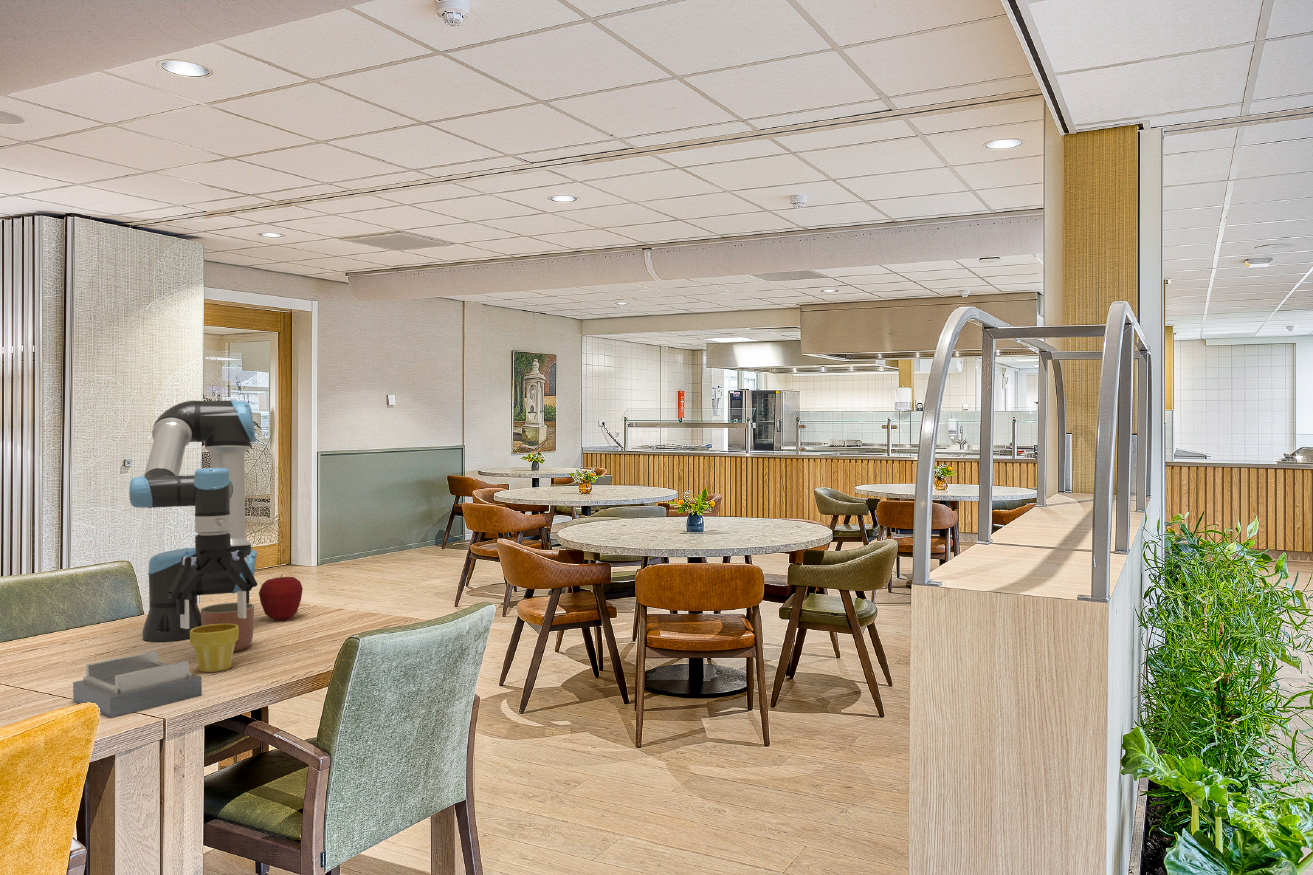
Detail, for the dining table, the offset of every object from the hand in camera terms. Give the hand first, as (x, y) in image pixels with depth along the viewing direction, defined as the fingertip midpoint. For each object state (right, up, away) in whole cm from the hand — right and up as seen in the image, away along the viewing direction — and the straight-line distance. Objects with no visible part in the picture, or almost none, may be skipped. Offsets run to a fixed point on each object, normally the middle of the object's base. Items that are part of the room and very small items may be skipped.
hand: (214, 622), depth 212 cm
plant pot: (0, -11, +1) cm, 11 cm away
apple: (-6, -10, +53) cm, 54 cm away
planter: (-6, -11, +18) cm, 22 cm away
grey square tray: (-5, -12, -22) cm, 25 cm away
